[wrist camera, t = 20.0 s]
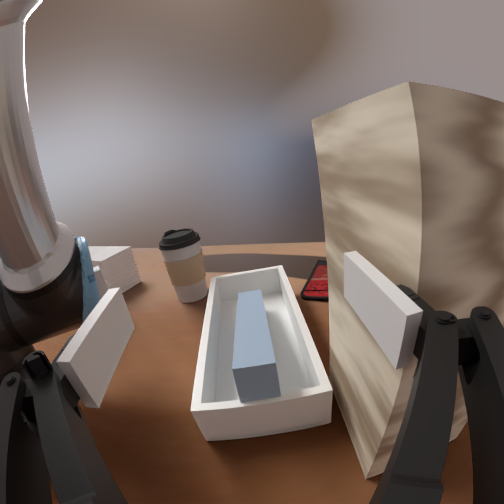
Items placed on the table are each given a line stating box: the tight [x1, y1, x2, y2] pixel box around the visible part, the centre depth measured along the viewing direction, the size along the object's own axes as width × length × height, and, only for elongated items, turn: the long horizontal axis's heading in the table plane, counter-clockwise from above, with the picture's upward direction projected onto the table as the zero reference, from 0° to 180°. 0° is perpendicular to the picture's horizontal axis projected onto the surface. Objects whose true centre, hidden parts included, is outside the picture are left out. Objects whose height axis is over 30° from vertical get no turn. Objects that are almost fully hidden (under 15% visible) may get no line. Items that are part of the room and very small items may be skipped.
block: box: [232, 289, 281, 402], centre depth 37 cm, size 4×26×4 cm, turn 3°
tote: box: [191, 265, 333, 441], centre depth 40 cm, size 14×33×6 cm, turn 3°
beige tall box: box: [312, 82, 504, 479], centre depth 20 cm, size 11×15×30 cm
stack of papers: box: [89, 246, 141, 293], centre depth 76 cm, size 32×11×11 cm, turn 64°
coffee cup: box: [159, 229, 208, 303], centre depth 60 cm, size 9×9×15 cm
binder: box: [301, 260, 329, 301], centre depth 55 cm, size 16×2×21 cm
